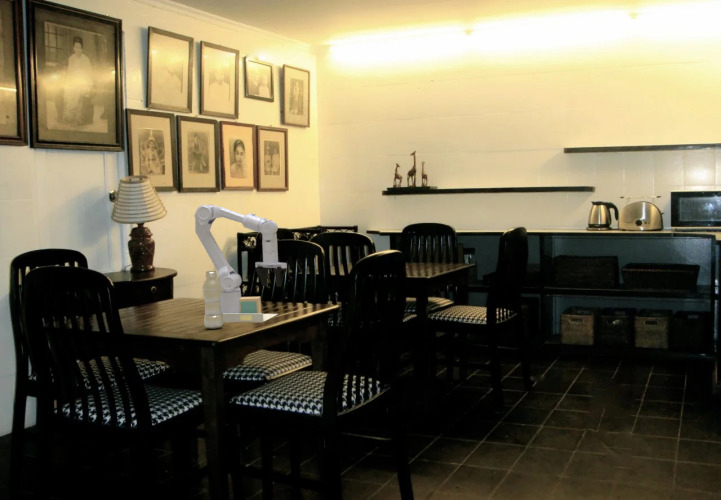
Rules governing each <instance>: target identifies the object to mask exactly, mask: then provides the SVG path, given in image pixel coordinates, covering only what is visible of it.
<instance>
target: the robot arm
mask: <svg viewBox="0 0 721 500" xmlns="http://www.w3.org/2000/svg"><path fill="white" fill-rule="evenodd" d="M193 216H194V219H195V220H194V221H195V223H194V224H195V225H194V226H195V228H194V229H195V230H194V231H195V234H196V235H197V237H198V239H199V241H200V243H201V244H202V246H203V248H204V250H205V251H206V253H207V255H208V257H209V258H210V260H211V262H212V263H213V266H214V268H215V270H216V272H217V277H218V280H219V282H220V284H221V296H220V306H221V315H223V313H239V299H240V298H241V297H242V293H241V292H242V291H241V287H240V286H241V284H242V282H243V281H242V277H241V275H240V274H239V273H237V272H236V271H235V269H234V268H233V267H232V266H231V265H230V264H229V263H228V260H227V258H226V256H225V255H224V253H223V251H222V249H221V248H220V246H219V244H218V243H217V241H216V239H215V237H214V235H213V234H212V231H211V228H212V225H213V223H214V222H215V220H216V219H218V218H223V219H227V220H230V221H234V222H237V223H241V225H242V226H243V228H245V229H248V230H251V231H253V232H256V233H261V235H262V236H261V237H262V241H261V242H262V243H261V245H262V261H256V262H255V272H256V274H257V275H258V278H259V281H260V283H261V287H266V286H267V285H268V272H269V269H272V270H273V274H274V277H275V285H276V288H280V287H282V283H283V281H284V276H285V275H286V272H287V271H288V270H287V265H288V264H287V263H286V262H279V256H278V255H279V253H278V238H277V237H278V236H277V235H278V234H277V231H278V228H279V226H278V224H277V222H275V221H273V220H272V219H268V218H267V217H260V216H257V215H256V213H253V212H252V213H247V214H245V215H244V214H242V213H239V212H236V211H233V210H231V209H228V208H226V207H223V206H220V205H214V204H201V205H199V206H198V207H197V208H196V211H195V213H194V215H193Z"/></svg>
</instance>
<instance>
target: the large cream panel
mask: <svg viewBox="0 0 721 500" xmlns="http://www.w3.org/2000/svg"><path fill="white" fill-rule="evenodd" d="M276 316H278V313H262V312H261V313H223V314H222V318H223V323H264V322H266V321H268V320H270V319H271V318H274V317H276Z"/></svg>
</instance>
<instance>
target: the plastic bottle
mask: <svg viewBox="0 0 721 500" xmlns="http://www.w3.org/2000/svg"><path fill="white" fill-rule="evenodd" d="M217 277H218V273H217V270H208V271H205V278H206V279H205V280H204V282H203V284H202V293H203V299H204V316H203V317H204V318H203V324H204V327H205V328H206V329H210V330H216V329H220V328H221V327H222V326H223V324H224V322H223V314H221V306H220V296H221V291H222V288H221V284H220V280H219V279H217Z"/></svg>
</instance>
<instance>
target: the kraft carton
mask: <svg viewBox="0 0 721 500" xmlns="http://www.w3.org/2000/svg"><path fill="white" fill-rule="evenodd" d="M261 299H262V297H261V296H241V298H240V299H239V313H262V300H261Z"/></svg>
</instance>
